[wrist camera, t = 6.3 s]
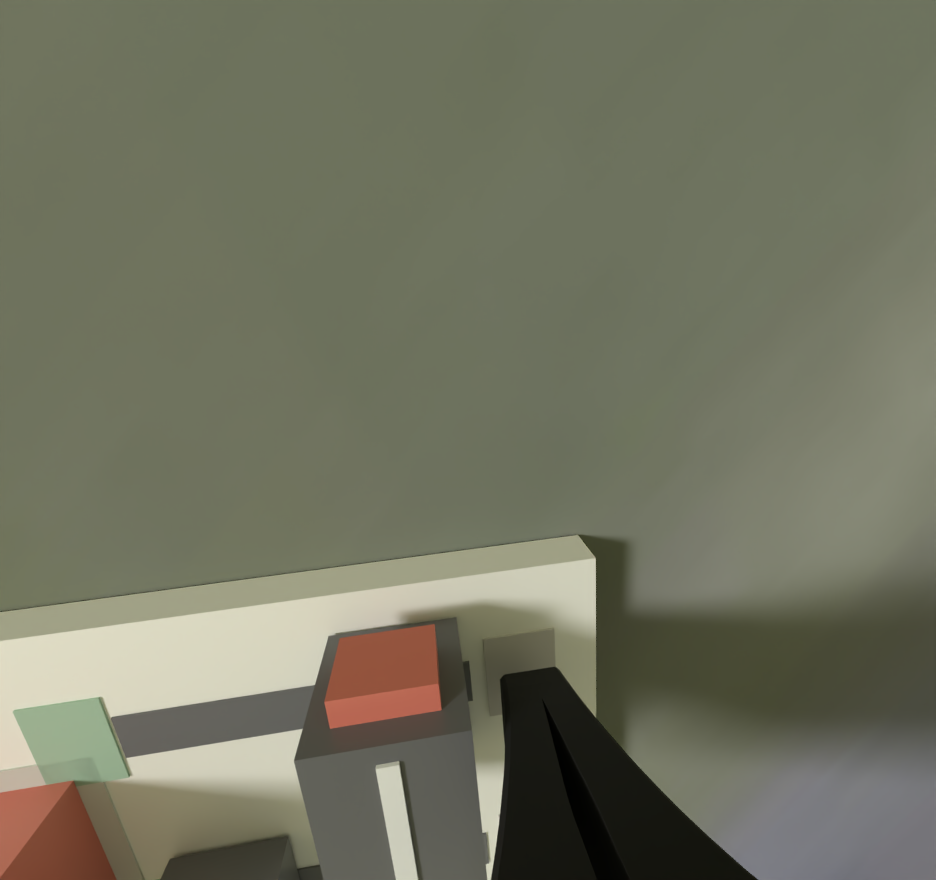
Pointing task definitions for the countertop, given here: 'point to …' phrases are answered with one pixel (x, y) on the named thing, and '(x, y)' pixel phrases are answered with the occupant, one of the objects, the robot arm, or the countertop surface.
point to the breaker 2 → (392, 758)
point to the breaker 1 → (237, 863)
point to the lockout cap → (49, 836)
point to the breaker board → (262, 689)
